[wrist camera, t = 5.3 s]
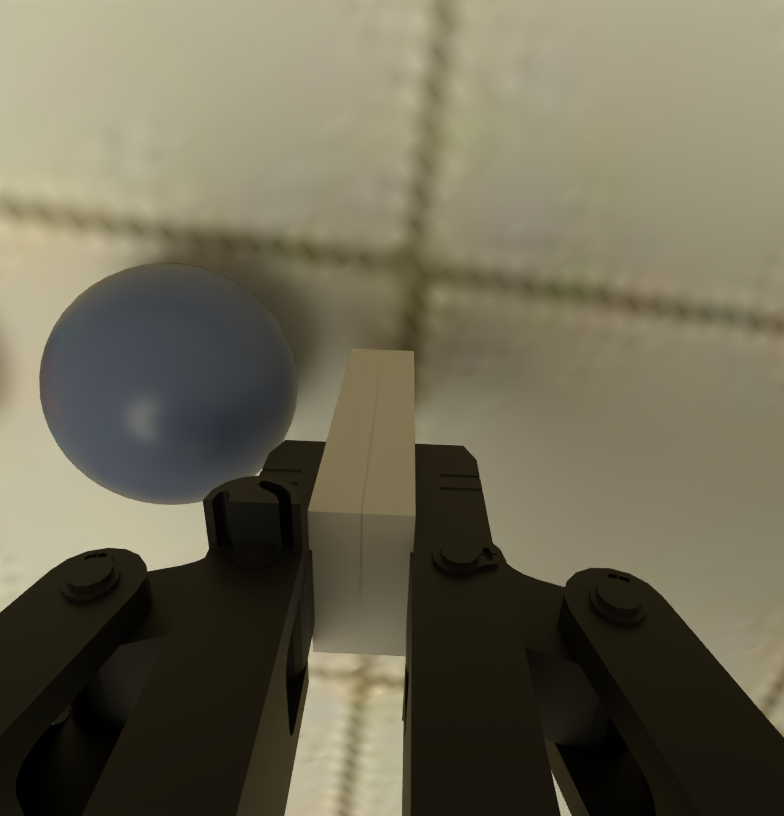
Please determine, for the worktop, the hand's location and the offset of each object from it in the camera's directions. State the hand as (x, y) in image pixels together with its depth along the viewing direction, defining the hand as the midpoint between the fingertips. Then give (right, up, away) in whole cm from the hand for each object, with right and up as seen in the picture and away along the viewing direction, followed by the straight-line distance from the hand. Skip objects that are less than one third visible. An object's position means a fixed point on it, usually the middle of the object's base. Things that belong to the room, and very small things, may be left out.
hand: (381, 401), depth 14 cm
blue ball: (-5, 0, -1) cm, 5 cm away
